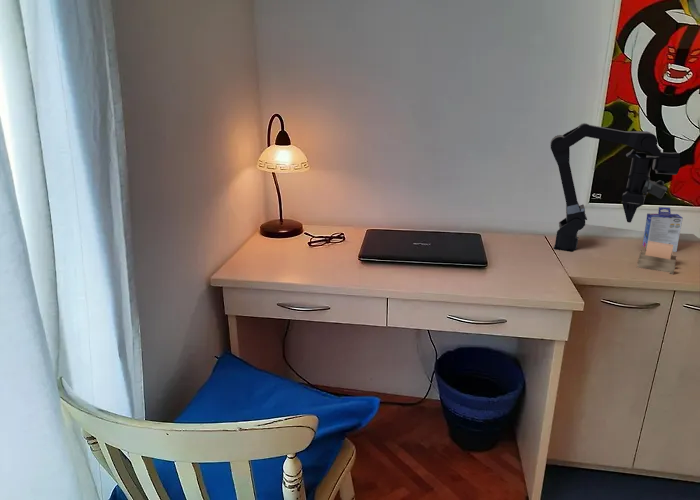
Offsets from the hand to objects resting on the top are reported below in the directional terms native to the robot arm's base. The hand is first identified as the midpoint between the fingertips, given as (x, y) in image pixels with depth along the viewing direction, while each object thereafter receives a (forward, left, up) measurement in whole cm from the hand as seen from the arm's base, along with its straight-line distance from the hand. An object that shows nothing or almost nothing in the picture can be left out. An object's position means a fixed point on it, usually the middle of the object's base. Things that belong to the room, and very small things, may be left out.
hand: (630, 219), depth 177 cm
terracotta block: (+10, -6, -12) cm, 17 cm away
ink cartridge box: (+10, +12, -12) cm, 20 cm away
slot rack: (+10, -8, -12) cm, 18 cm away
